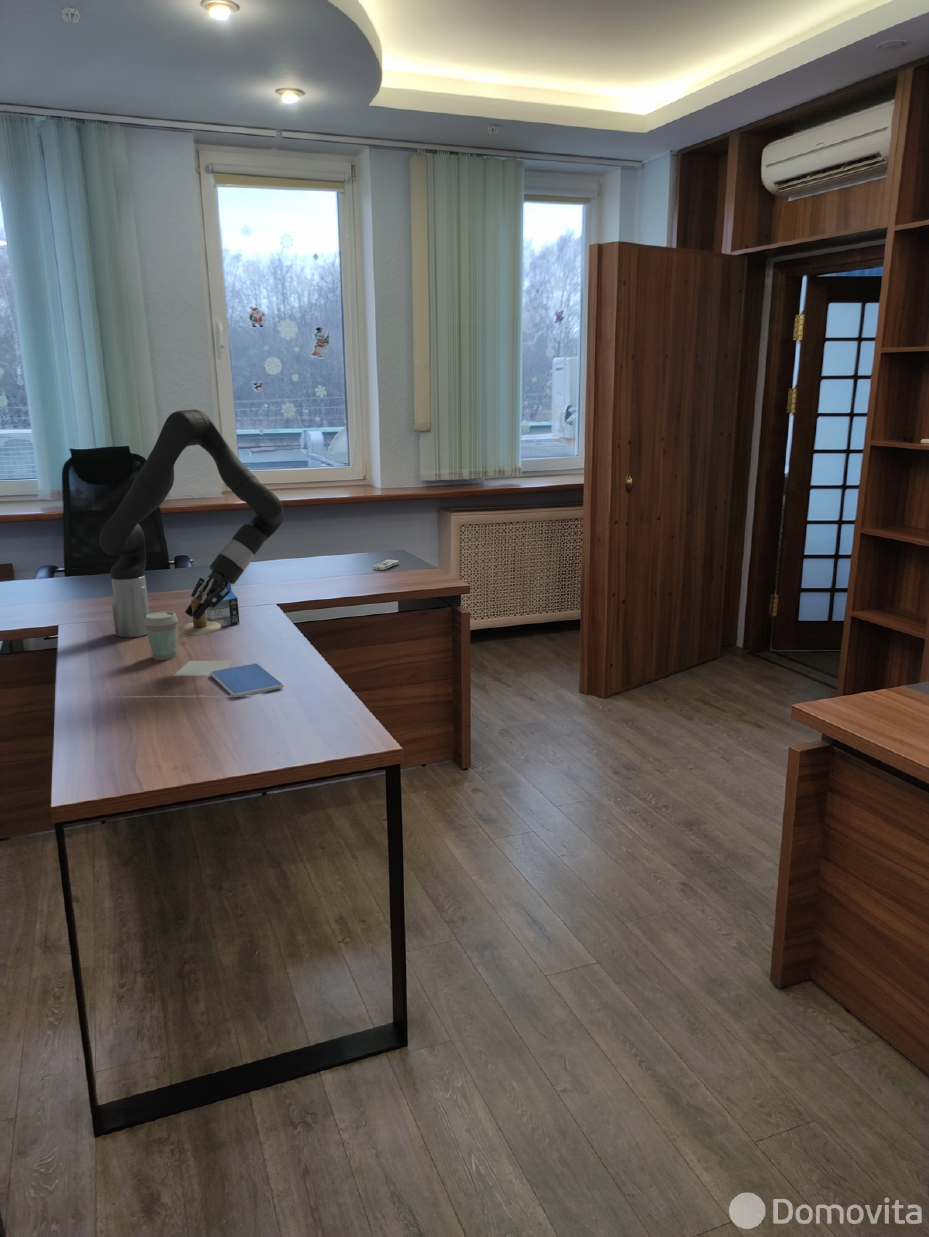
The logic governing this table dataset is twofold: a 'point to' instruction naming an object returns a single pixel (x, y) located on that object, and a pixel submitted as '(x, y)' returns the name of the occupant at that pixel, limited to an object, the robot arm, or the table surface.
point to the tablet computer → (246, 680)
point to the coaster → (202, 668)
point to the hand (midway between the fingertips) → (191, 615)
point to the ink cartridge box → (225, 610)
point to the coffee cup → (162, 634)
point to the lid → (199, 623)
